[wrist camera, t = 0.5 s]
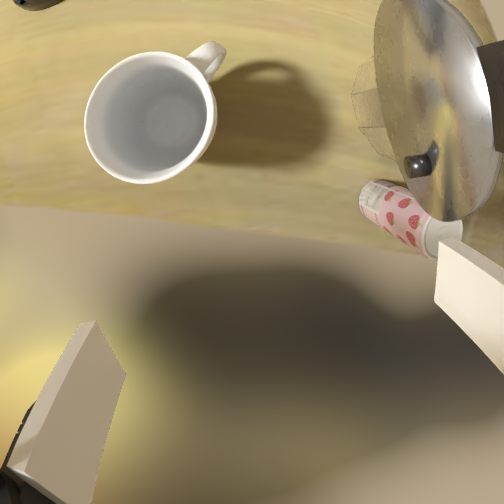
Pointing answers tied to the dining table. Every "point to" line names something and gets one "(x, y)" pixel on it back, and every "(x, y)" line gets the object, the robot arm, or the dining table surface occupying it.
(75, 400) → the robot arm
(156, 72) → the mug
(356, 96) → the pot
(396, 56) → the lid
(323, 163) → the dining table surface
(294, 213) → the dining table surface
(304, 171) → the dining table surface
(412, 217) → the beverage can
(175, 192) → the dining table surface
